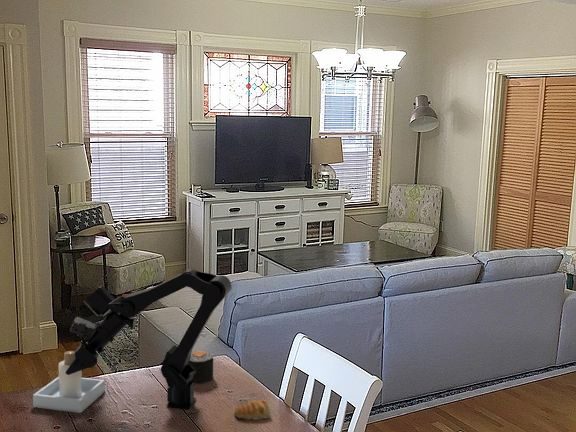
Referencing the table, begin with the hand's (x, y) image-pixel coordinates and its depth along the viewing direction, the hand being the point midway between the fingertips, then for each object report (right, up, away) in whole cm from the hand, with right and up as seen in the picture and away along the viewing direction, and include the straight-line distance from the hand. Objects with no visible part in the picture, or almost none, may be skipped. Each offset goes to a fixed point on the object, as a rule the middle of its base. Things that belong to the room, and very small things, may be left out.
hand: (69, 367), depth 181 cm
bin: (0, -9, +2) cm, 9 cm away
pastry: (+52, -12, -5) cm, 53 cm away
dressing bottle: (0, -9, +1) cm, 9 cm away
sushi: (+34, -8, +18) cm, 39 cm away
